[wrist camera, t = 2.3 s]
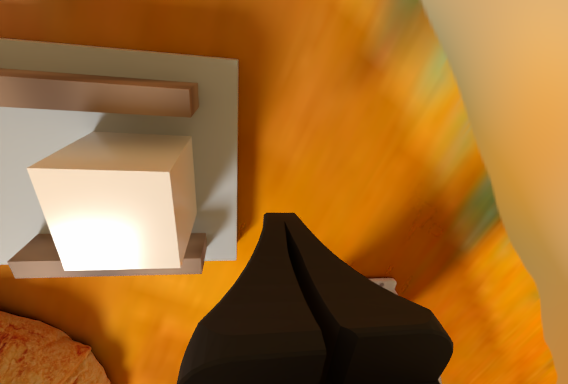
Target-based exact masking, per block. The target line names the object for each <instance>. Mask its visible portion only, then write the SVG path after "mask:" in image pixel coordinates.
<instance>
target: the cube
mask: <svg viewBox="0 0 568 384" xmlns="http://www.w3.org/2000/svg"><path fill="white" fill-rule="evenodd" d="M27 171H28V174H29V176H30V179H31V182H32V184H33V187H34V190H35V192H36V195H37V198H38V200H39V203H40V206H41V208H42V211H43V214H44V216H45V219H46V222H47V224H48V227H49V230H50V232H51V235H52V238H53V240H54V243H55V246H56V249H57V251H58V254H59V257H60V259H61V262H62V265H63V267H64V270H65V271H71V270H117V269H163V268H181V265H182V262H183V258H184V255H185V251H186V248H187V245H188V241H189V238H190V235H191V231H192V228H193V224H194V221H195V218H196V214H197V206H196V192H195V178H194V164H193V150H192V136H179V135H158V134H137V133H115V132H94V131H93V132H91V133H89V134H88V135H86V136H84V137H82V138H80V139H79V140H77V141H75V142H73V143H71V144H69V145H68V146H66V147H64V148H62V149H60V150H58V151H57V152H55V153H53V154H51V155H49V156H48V157H46V158H44V159H42V160H40V161H38V162H37V163H35V164H33V165H31V166H29V167H27Z"/></svg>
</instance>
